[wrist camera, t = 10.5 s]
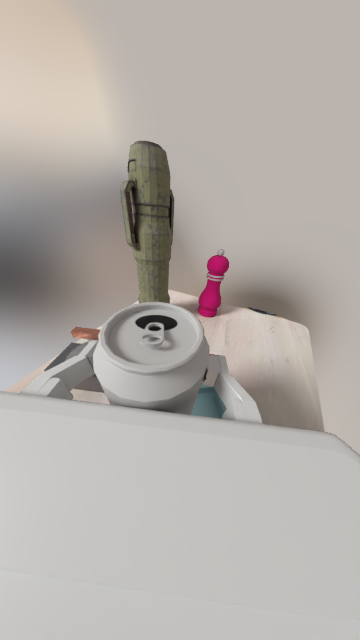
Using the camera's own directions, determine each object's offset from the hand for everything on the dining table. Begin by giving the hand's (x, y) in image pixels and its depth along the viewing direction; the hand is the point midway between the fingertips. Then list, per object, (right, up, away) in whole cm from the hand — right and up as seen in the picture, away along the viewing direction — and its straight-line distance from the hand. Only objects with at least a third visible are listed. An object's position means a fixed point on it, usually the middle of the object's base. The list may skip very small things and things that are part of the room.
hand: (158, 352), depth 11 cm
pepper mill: (+11, +5, +37) cm, 39 cm away
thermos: (-6, +4, +33) cm, 34 cm away
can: (-1, -7, +4) cm, 9 cm away
